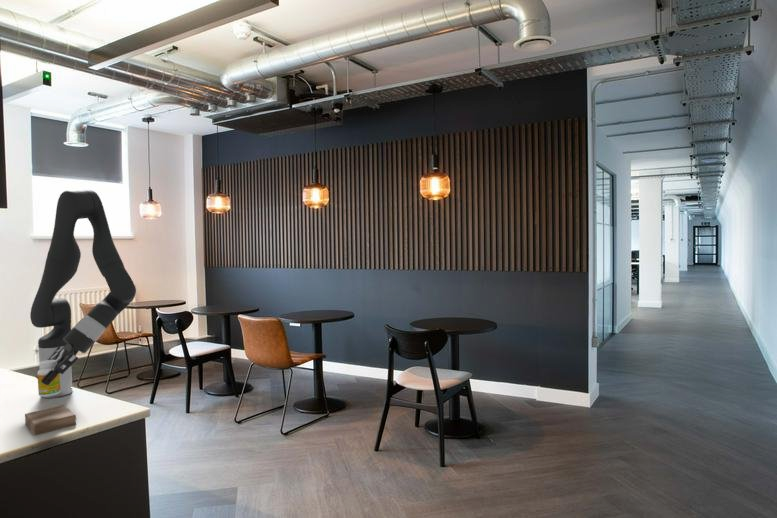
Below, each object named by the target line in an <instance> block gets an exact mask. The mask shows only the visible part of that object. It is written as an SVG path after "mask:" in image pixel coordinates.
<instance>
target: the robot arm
mask: <svg viewBox="0 0 777 518" xmlns="http://www.w3.org/2000/svg"><path fill="white" fill-rule="evenodd" d="M104 208H105V207H104V206H103V203H102V200H101V198H100V196H99V195H98V193H97V192H96V191H95V190H91V189H68V190H65V191H63V192H61V194H60V195H59V197H58V199H57V202H56V210H55V218H54V227H53V232H52V237H51V240H50V245H49V249H48V252H47V256H46V259H45V265H44V269H43V273H42V276H41V280H40V283H39V285H38V290H37V292H36V293H35V296H34V299H33V302H32V305H31V309H30V313H29V314H30V321H31V324H32V326H33V327H35V328H39V329H40V328H41V329H42V328H43V329H44V328H50V327H52V329H51V330H50V331H49V332H48V333H46V334H44V335H43V336H41V337H40V338H39V339H38V341H37V346H38V361H39V362H38V364H39V365H38V366H39V370H40V369H41V368H40V362H42V361H46V360H56V361H55V365H54V366H53V368H52V369H51V370H52V371H51V370H50V371H49V372H48V373H47V375H46V376H45V377H44V378H43V379H42V380H41V382H42V383H44V384H45V385H49V384H50V383H51V382H52V380H53V379H54V378H55V377H56V376H57V374H58V375H59V374H60V388H61V391H60V393H58V394H56V395H53V396H46V397H43V398H45V399H49V398H51V399H52V398H59V397H64V396H67V395H69V394H71V393H73V377H72V373H73V372H72V366H73V365H74V363H75V362H77V360H79V357H78V356H77V354H79V352H80V353H82V354H85V353H87V352H88V351H89V350H90V348H91V347H92V346H94V344H95V343H96V342H97V341H98V340H99V338H100V337H101V336H102V335H103V333H104V332H105V331H106V329H107V328H108V327H109V326H110V325H111V324H112V323H113V322H114V321H115V319H116V318H117V316H118V315H119V314H120V313H122V312H123V310H125V309H126V308H127V307H128V306H129V305H130V304H131V303H132V301H133V300H134V299H135V297H136V293H137V288H136V287H137V286H136V285H135V283H134V281H133V279H132V278H131V276H130V274H129V273H128V271H127V269H126V268H125V265H124V262H123V260H122V258H121V256H120V254H119V252H118V250H117V247H116V245H115V242H114V240H113V237H112V236H113V235H112V233H111V230H110V225H109V222H108V219H107V215H106V211H105V209H104ZM82 219H87V220H88V221H89V223H90V225H91V226H92V230H93V238H92V239H93V240H92V249H91V250H92V257H93V260H94V262H95V264H96V266H97V268H98V271H99V272H100V274H101V275H102V277H103V278H104V279H105V281H106V284H107V286H108V288H109V291H110V292H109V293H107V295H106V296H105V297H104V298H103V299H102V301H100V302H98V303H96V304H95V305H94V306H93V308H91V310H90V311H88V313H86V315H85V316H84V317H83V318H81V319H80V320H79V321H78V322H77V323H76V324H75V325H74V326H73V327H72V308H71V305H70V302H69V301H68V299H65V298H55V296H56V295H57V294H58V293H59V292H60V290H61V289H62V288H63V287H65V286H66V285H67V283H69V282H70V281H71V279H72V278H73V277H74V276H75V274H76V273H77V272H78V267H79V265H80V261H81V257H82V256H81V255H82V252H81V249H80V246H79V244H78V242H77V240H76V238H75V227H76V225H77V221H79V220H82ZM35 378H36V379H37V380H38V377H37V375H36V377H35ZM71 387H72V388H71Z"/></svg>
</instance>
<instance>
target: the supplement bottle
mask: <svg viewBox="0 0 777 518" xmlns="http://www.w3.org/2000/svg"><path fill="white" fill-rule="evenodd" d="M55 361H56V360H46V361H42V362H40V366H39V370H38V371H37V375H36V376H37V377H38V379H37V388H38V390H37V391H38V396H39V397H41V398H44V397H46V396H53V395H56V394H58V393H60V391H61V388H60V374H59V375H58V374H57V376H56V377H55V378H54V379H53V380H52V382H51V383H50V384H49V385H45V384H44V383H42V382H41V380H42V379H43V378H44V377H45V376H46V375H47V373H48V372H49V371H50V370H51V369H52V368H53V366H54V365H55ZM40 368H41V369H40ZM51 371H52V370H51Z"/></svg>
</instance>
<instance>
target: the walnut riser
mask: <svg viewBox="0 0 777 518" xmlns="http://www.w3.org/2000/svg"><path fill="white" fill-rule="evenodd" d="M76 416H77V414H75V413H74V412H73V411H72V410H70V409H69V407H67V406H66V405H64V404H63V405H59V406H54V407H50V408H45V409H40V410H36V411H32V412H27V413H25V414H24V422H25V425H26V426H27V427H28V428H29V429H30V430H31V432H32V433H33V434H34V435H35V436H37V435H40V434H44V433H45V434H46V433H48V432H52V431H57V430H60V429H64V428H68V427H72V426H76V425H77V418H76Z"/></svg>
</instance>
